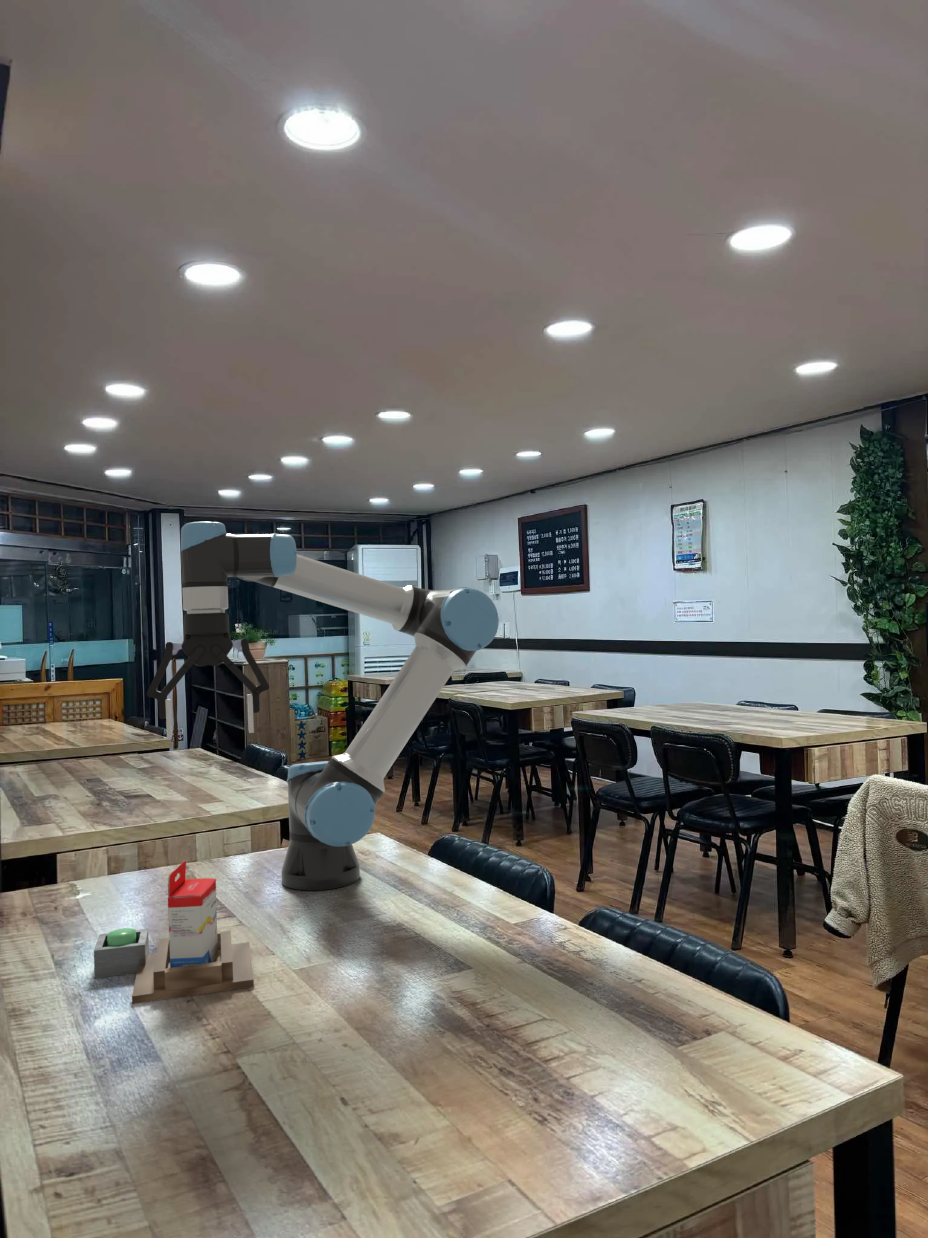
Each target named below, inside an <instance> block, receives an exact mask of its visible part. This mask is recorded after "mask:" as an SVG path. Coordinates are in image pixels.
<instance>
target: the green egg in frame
mask: <svg viewBox="0 0 928 1238" xmlns="http://www.w3.org/2000/svg"><path fill="white" fill-rule="evenodd" d="M135 930H136V943H134V944H126V945H118V946H110V947H108V941H107V934H108V933H109V932H108V933H100V934H98V938H97V940H96V941H97V942H96V944H95V946H94V949H93V963H94V964H93V965H94V967H93V968H94V971H93V972H94V979H99V978H100V979H101V978H108V977H115V976H121V975H123V976H124V975H129V974H137V970H138V966H140V965H146V960H147V955H150V949H149V948H150V945H149V941H150V940H149V928H141V929H135Z"/></svg>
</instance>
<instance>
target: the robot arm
mask: <svg viewBox="0 0 928 1238" xmlns="http://www.w3.org/2000/svg"><path fill="white" fill-rule="evenodd" d="M297 553H298V552H297V545H296V540H295V538H294V537H293V536H292V535H290V534H281V533H280V534H279V533H276V532H273V533H270V534H269V533H265V534H264V533H263V534H259V533H256V534H255V533H254V534H234V533H233V534H232V533H228V532H227V530H226V526H225V524H224V523H222V522H219V521H193V522H187V523H185V524H184V525H183V526H182V527H181V529H180V560H181V561H180V565H181V579H182V581H181V582H182V588H181V589H182V591H181V592H182V610H183V611H184V612H185V611H186V614H184V615H183V617H182V618H183V634H184V636H183V638H184V639H183V642H172V641H167V642H165V646H164V647H165V648H164V656H163V658H162V659H161V662H160V664H159V666H158V669H157V670H156V672H155V674H154V676H153V678H152V681H151V683H150V685H149V687H148V689H147V691H146V696H147V697H148V698H152V699H155V700H157V702H158V717H159V719H160V720H165V719H166V720H165V721H166V722H165V725H166V739H167V740H171V739H173V730H172V729H173V728H172V707H171V698H167V697H168V696H169V694H170V693H171V692H172V691H173V690H174V688H175V687H176V686H177V685H178V683H179V682H180V681H181V680H182V679H183V677H184V676H185V675H186V674H187V672H188V671H189V670H191V669H190V668H192V666H193V665H194V666H197V667H199V668H201V667H206V666H210V667H211V666H212V667H214V666H217V667H218V666H219V665H221V664H222V663H223V664H224V665H225V666H226V667H227V669H229V670H230V672H232V674H233V675H234V676H236V678H237V679H238V680H239V681H240V682H241V683H242V684H243V685H244V687H246V688H247V689H248V690H249V691H250V694H246V697H247V703H246V704H247V723H248V725H247V727H248V728H247V729H248V733H249V734H253V733H255V728H254V727H255V726H254V725H255V724H254V714H255V713H256V714H257V713H259V712H260V710H261V709H260V695H261V693H263V692H265V691H267V690H270V685H269V683H268V681H267V679H266V678H265V676H264V674H263V672H262V670H261V669H260V667H259V665H258V663H257V661H256V660H255V658H254V656H253V654H252V653H251V650H250V645H249V639H247V638H243V637H242V638H241V639H236V640H232V639H231V637H230V615H229V614H228V613H227V612H226V610H228V609H229V589H228V588H229V587H228V578H238V579H240V580H242V581H245V582H255V583H258V584H261V585H264V586H267V587H272V588H274V589H279V590H281V591H284V592H288V593H291V594H294V595H297V596H301V597H305V598H307V599H310V600H314V601H316V602H317V601H318V602H321V603H324V604H327V605H330V606H332V607H337V608H340V609H343V610H345V611H349V612H351V613H356V614H359V615H362V616H366V617H369V618H371V619H375V620H377V621H378V620H379V621H381V622H385V623H388V624H391V626H392V628H393V629H394V630H395V631H396V632H399V633H403V634H406V635H409V636H412V637H413V638H414V643H415V647H414V649H413V650H412V652H411V653H410V655H409V656H408V657H407V659H406V660H405V662H404V664H403V665H402V666H401V668H400V669H399V671H398V672H397V674H396V675H395V677H394V678H393V680H392V682H391V683H389V686H388V687H387V689H386V690H385V692H384V693H383V695H382V696H381V698H380V699H379V700H378V702H377V704H376V705H375V706H374V708H373V710H372V711H371V713H370V715H369V716H368V717H367V719H366V720H365V721H364V723H363V725H362V726H361V727H360V729H359V731H358V732H357V733H356V735H355V736H354V739H352V741H351V743H350V744H349V746H348V747H347V748H346V750H345V752H343V753H342V754H336V755H332V756H331V757H330V759H329V760H324V761H314V762H303V763H295V764H292V765H290V766H289V768H288V769H287V778H286V783H287V797H288V798H287V799H288V826H289V843H288V846H287V851H286V854H285V857H284V860H283V865H282V867H281V884H282V885H283V886H285V887H286V888H288V889H293V890H299V891H323V890H331V889H337V888H342V887H345V886H348V885H350V884H351V885H352V884H353V883H356V881H358V880H359V879H360V875H361V872H360V871H361V869H360V863H359V860H358V857H357V854H356V851H355V848H354V846H353V845H354V844H356V843H357V842H359V841H360V840H362V839H363V838H364V837H365V836H366V835H367V834H368V832H370V830H371V828H372V826H373V824H374V821H375V818H376V806H377V804H378V803H379V801H381V797H382V796H383V795H384V794H385V792H386V790H385V782H384V779H385V777H386V775H387V773H388V772H389V770H391V767H392V766H393V764H394V763H395V762H396V760H397V758H398V757H399V756H400V753H401V752H402V751H403V749H404V747H405V746H406V744H407V743H408V741H409V739H410V738H411V737H412V735H413V734H414V732H415V731H416V730H417V728H418V726H419V725H420V723H421V721H422V720H423V719H424V717H425V716H426V714H427V712H428V711H429V710H430V708H431V707H432V705H433V703H434V702H435V700H436V699H437V697H438V696H439V695H440V693H441V691H442V690H443V688H444V687H445V685H446V683H448V680H449V679H450V677H451V676H452V674H453V673H454V672H456V671H460V670H464V669H465V668H467V666H468V664H469V663H470V662H471V660H472V658H473V657H474V656H475V654H476V652H477V651H481V650H482V649H484V648H485V647H487V646H488V645H490V643H492V641H493V640H494V639H495V637H496V636H497V633H498V629H499V626H500V625H499V623H500V622H499V621H500V619H499V613H498V609H497V606H496V605H495V603H494V601H493V600H492V599H491V598H490V597H489V595H487V594H486V593H485V592H483V591H482V590H479V589H476V588H472V587H467V586H466V587H465V586H462V587H461V586H460V587H457V588H454V589H453V588H452V589H440V590H439V589H438V590H437V589H425V588H421V587H416V586H413V585H410V584H409V585H408V584H407V585H406V586H405V587H400V586H397V585H393V584H391V583H388V582H385V581H382V580H378V579H375V578H373V577H369V576H366V575H363V574H359V573H357V572H354V571H350V570H347V569H344V568H341V567H338V566H335V565H332V564H328V563H326V562H322V561H320V560H316V559H313V558H310V557H307V556H304V555H301V554H297ZM233 647H234V648H235V649H236V650H237V652H241V653H242V655H243V657H244V659H245V660H246V663H247V665H248V666H249V667H250V669H251V671H252V673H253V675H254V676H255V678H256V680H257V681H258V683H259V684H258V685H255V684H254V682H252V681H251V680H250V678H248V677H247V675H246V674H245V673H244V672H243V671H242V670H241V669H240V668H239V667H238V666H237V665H236V664H235V663H234V662H233V661H232V660H231V659H230V658H229V657H228V655H229V654H230V653H231V650H232V649H233ZM180 650H181V651H183V653H184V654H185V655H186V656H187V657H188V658H187V659H186V660H185V661H184V663H182V665H181V666H180V667H179V669H178V670H177V672H175V674H174V675H173V676H172V677H171V678H170V680H169V681H168V682H167V683H166V685H165V686H164V687H163V688H162V690H161V691H159V690H157V689H158V688H159V686H160V683H161V682H162V678H164V677H163V676H164V675H165V673H166V671H167V668H168V667H169V664H170V662H171V660H172V658H173V657H172V656H175V655H177V654H178V652H179V651H180Z"/></svg>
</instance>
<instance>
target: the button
mask: <svg viewBox="0 0 928 1238" xmlns="http://www.w3.org/2000/svg"><path fill="white" fill-rule="evenodd" d="M136 930H137V929H135V928H132V927H131V928H130V927H126V928H118V929H115V930H111V931H110V932H108V934H107V933H106V934H107V941H108V947H110V946H118V945H126V944H134V943H136Z"/></svg>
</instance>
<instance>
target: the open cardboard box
mask: <svg viewBox="0 0 928 1238" xmlns="http://www.w3.org/2000/svg"><path fill="white" fill-rule="evenodd" d="M231 932H232V931H231V930H223V931H221V929H220V930H219V929H217V941H218V956H217V958H216V959H215V961H214V962H212V963H204V964H197V965H189V966H181V967H174V968H170V944H169V937H166V938H159V939H158V942H157V947H156V953H154V954H153V953H152V954H149V955H147V960H146V965H140V966H138V970H137V973H136V974H135V975H136V976H135V981H134V984H133V988H132V990H133V991H132V993H131V994H132V995H131V1004H132V1005H133V1004H139V1003H140V1004H141V1003H146V1002H155V1001H161V1000H169V999H177V998H182V997H183V998H184V997H190V996H197V995H204V994H205V995H206V994H211V993H218V992H226V991H233V990H234V991H235V990H240V989H247V988H253V987H255V984H254V983H255V982H254V973H253V963H252V955H251V947H250V946H251V945H250V941H249V942H248V941H247V942H240V943H239V942H237V943H232V933H231Z"/></svg>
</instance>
